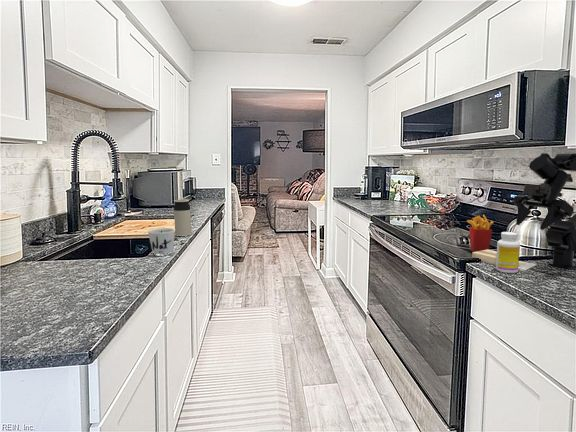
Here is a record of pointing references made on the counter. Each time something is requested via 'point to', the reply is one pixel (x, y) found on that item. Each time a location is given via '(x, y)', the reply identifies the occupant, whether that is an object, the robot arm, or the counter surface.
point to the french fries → (480, 234)
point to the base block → (486, 256)
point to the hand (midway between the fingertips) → (528, 226)
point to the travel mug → (182, 217)
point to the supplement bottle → (508, 253)
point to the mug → (162, 240)
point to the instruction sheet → (525, 265)
